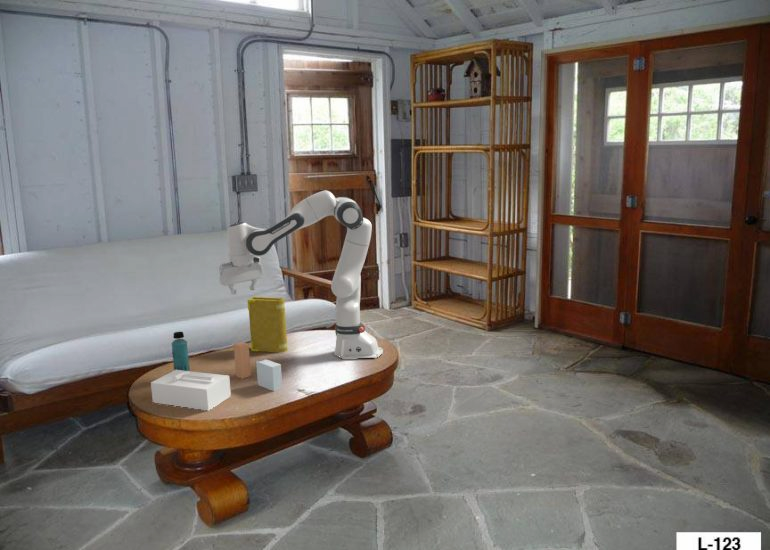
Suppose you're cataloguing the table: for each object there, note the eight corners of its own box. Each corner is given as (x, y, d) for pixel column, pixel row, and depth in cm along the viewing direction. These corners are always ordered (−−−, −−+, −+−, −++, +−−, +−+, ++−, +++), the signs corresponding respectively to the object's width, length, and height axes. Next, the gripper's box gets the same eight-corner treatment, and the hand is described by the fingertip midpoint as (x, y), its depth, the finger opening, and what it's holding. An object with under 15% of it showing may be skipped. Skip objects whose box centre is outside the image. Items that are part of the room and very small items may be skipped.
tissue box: (177, 390, 247) (175, 364, 244) (230, 396, 238) (228, 369, 236) (153, 404, 233) (150, 376, 231) (208, 411, 225) (205, 383, 223)
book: (251, 350, 292) (247, 299, 287) (258, 346, 298) (254, 296, 293) (283, 353, 287) (280, 301, 282) (289, 348, 293) (286, 297, 288)
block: (236, 375, 259) (233, 344, 256) (244, 373, 262) (241, 341, 259) (242, 378, 256) (240, 346, 253) (250, 375, 259) (248, 344, 256)
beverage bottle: (185, 373, 264) (180, 329, 260) (194, 377, 260) (189, 331, 256) (171, 378, 259) (166, 332, 255) (180, 381, 255) (175, 335, 251)
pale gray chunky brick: (257, 384, 249) (255, 361, 247) (265, 381, 252) (264, 358, 250) (274, 391, 241) (272, 366, 239) (282, 388, 244) (280, 364, 242)
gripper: (223, 265, 253) (226, 297, 256) (264, 257, 267) (266, 288, 270) (214, 263, 257) (218, 295, 260) (255, 256, 272) (258, 286, 274)
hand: (243, 291), depth 265 cm, fingers open, 8 cm apart
